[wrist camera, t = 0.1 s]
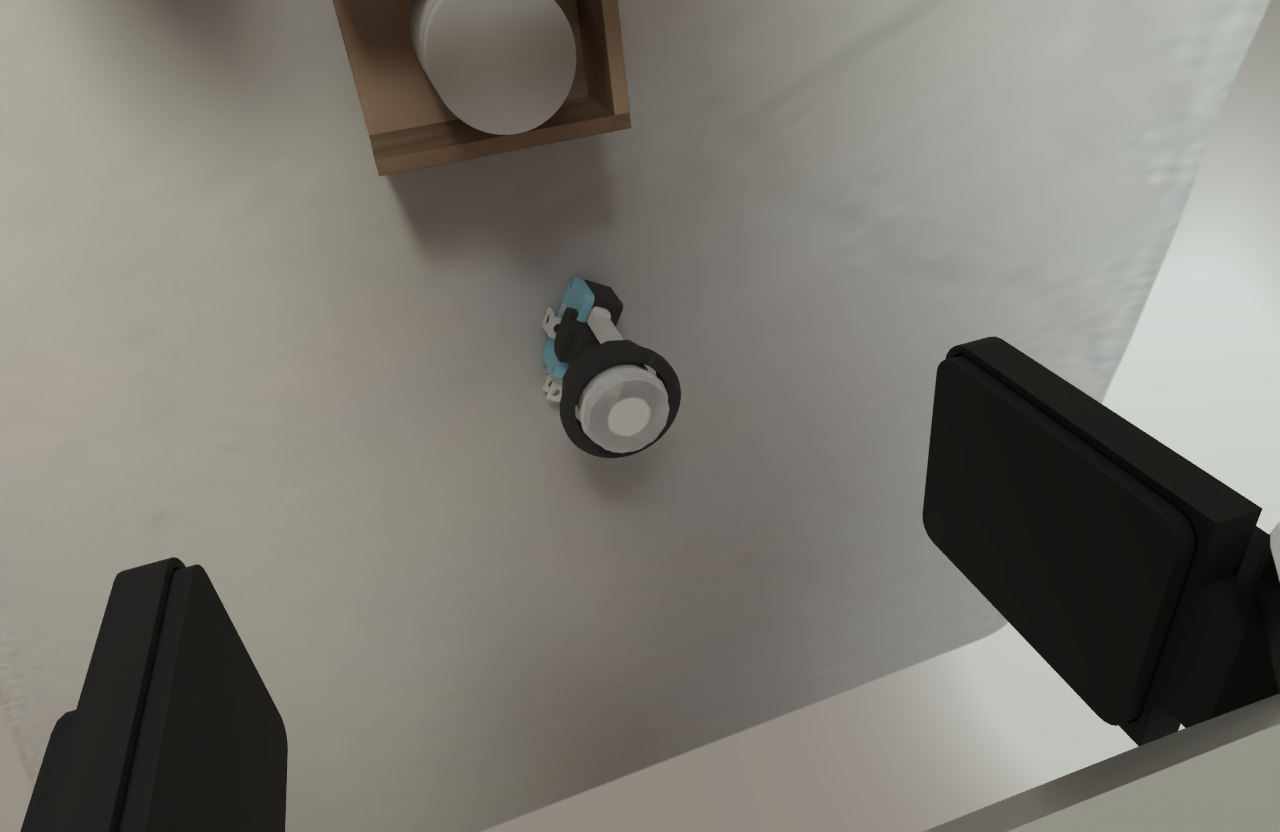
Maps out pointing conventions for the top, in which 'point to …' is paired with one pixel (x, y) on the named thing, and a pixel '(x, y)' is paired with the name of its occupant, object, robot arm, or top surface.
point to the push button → (605, 376)
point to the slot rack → (482, 75)
